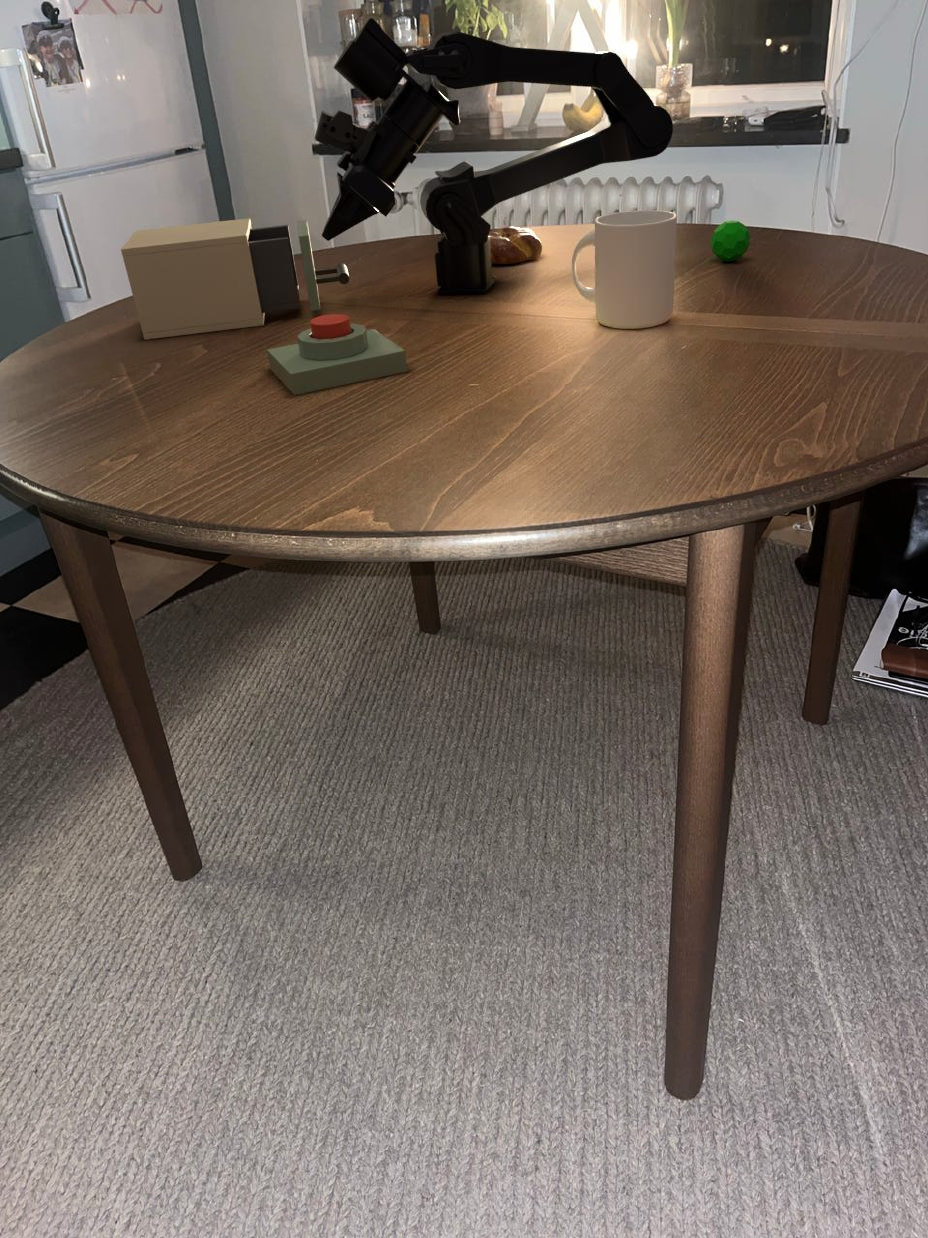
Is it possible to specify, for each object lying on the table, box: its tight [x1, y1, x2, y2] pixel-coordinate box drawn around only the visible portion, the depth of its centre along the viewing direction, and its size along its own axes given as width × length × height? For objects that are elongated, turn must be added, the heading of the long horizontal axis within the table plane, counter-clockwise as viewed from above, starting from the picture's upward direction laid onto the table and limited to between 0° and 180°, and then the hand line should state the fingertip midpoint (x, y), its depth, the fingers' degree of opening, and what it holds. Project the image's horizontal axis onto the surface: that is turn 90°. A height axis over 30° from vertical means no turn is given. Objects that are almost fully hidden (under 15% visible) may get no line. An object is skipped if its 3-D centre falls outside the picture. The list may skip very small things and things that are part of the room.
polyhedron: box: [710, 220, 751, 262], centre depth 125 cm, size 5×5×5 cm
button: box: [309, 313, 352, 339], centre depth 96 cm, size 4×4×2 cm
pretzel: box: [489, 225, 543, 265], centre depth 137 cm, size 12×11×4 cm
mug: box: [571, 209, 678, 330], centre depth 104 cm, size 9×12×11 cm
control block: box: [266, 322, 408, 396], centre depth 97 cm, size 12×10×4 cm
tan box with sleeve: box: [120, 217, 266, 341], centre depth 118 cm, size 15×13×11 cm
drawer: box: [248, 219, 350, 314], centre depth 119 cm, size 18×11×9 cm, turn 99°
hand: (324, 237), depth 118 cm, fingers closed
